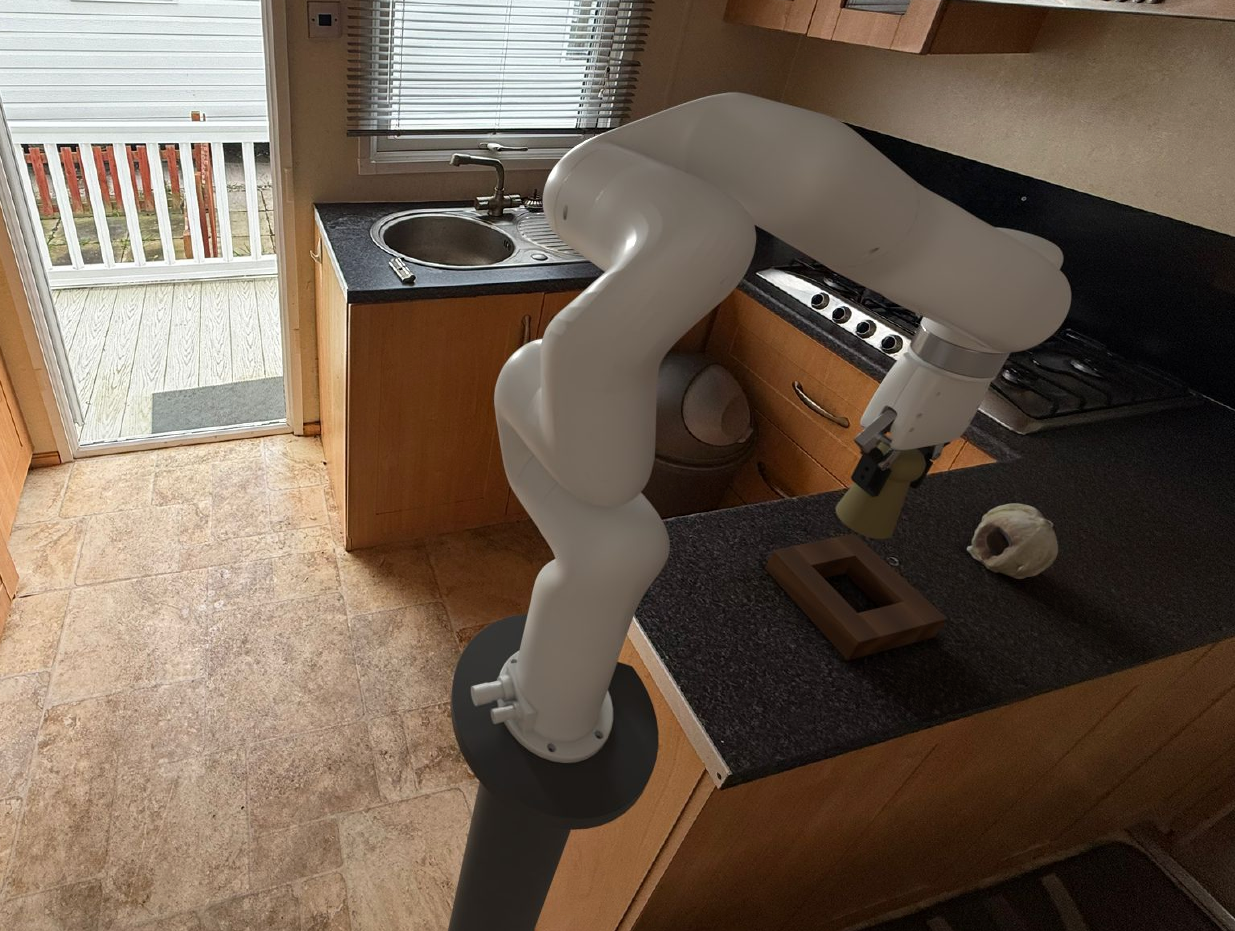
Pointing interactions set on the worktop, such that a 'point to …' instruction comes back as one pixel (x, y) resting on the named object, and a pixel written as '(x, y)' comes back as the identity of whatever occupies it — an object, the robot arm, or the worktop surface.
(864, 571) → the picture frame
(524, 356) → the robot arm
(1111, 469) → the worktop surface
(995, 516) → the cream hollow round shell
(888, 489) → the cork
